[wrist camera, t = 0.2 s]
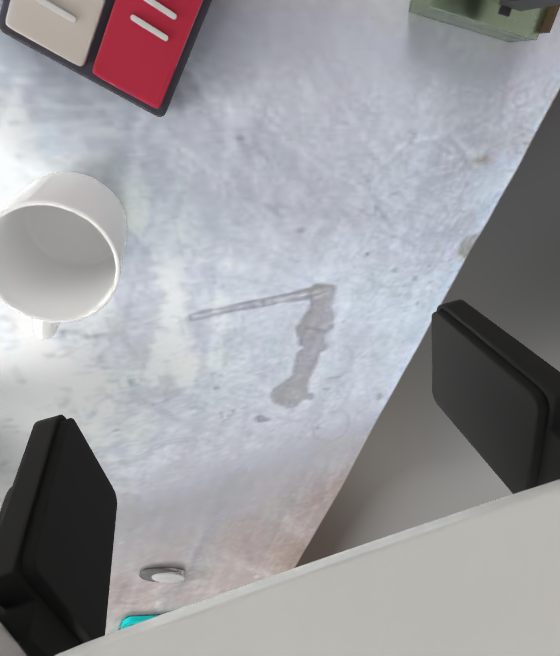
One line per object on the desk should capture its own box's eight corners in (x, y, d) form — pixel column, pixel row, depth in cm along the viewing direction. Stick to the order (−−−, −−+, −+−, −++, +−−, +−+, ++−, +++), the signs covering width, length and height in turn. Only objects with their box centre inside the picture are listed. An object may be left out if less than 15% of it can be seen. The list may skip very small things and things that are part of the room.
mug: (106, 314, 42) (92, 377, 33) (6, 291, 39) (-38, 354, 30) (139, 190, 38) (134, 226, 29) (29, 152, 35) (-14, 180, 26)
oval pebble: (138, 575, 61) (137, 583, 60) (141, 563, 60) (140, 571, 59) (183, 578, 63) (182, 586, 62) (187, 567, 62) (187, 575, 61)
